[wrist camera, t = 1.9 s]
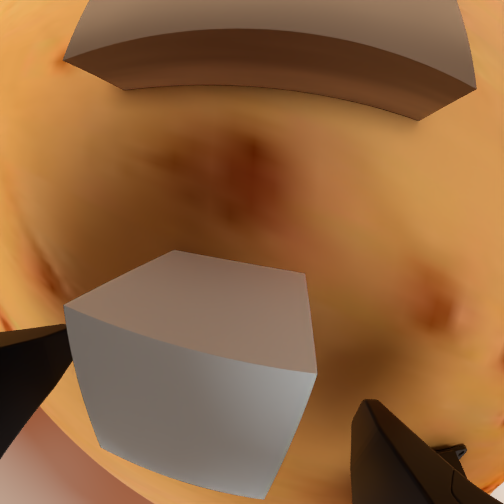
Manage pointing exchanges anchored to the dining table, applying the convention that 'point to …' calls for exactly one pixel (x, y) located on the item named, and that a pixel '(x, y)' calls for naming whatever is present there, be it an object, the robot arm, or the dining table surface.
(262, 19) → the walnut block
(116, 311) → the grey-blue block
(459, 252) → the dining table surface
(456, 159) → the dining table surface
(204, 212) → the dining table surface
